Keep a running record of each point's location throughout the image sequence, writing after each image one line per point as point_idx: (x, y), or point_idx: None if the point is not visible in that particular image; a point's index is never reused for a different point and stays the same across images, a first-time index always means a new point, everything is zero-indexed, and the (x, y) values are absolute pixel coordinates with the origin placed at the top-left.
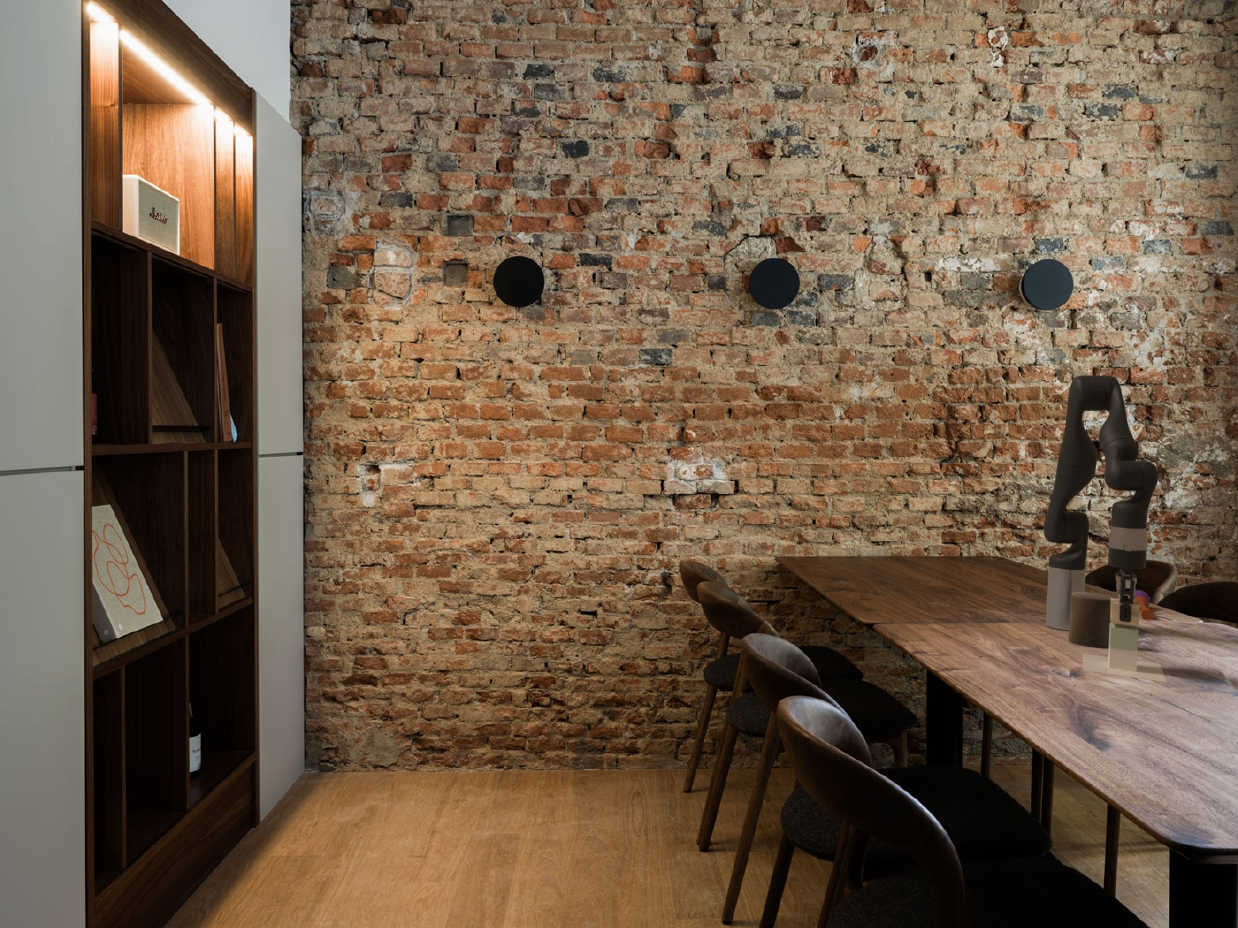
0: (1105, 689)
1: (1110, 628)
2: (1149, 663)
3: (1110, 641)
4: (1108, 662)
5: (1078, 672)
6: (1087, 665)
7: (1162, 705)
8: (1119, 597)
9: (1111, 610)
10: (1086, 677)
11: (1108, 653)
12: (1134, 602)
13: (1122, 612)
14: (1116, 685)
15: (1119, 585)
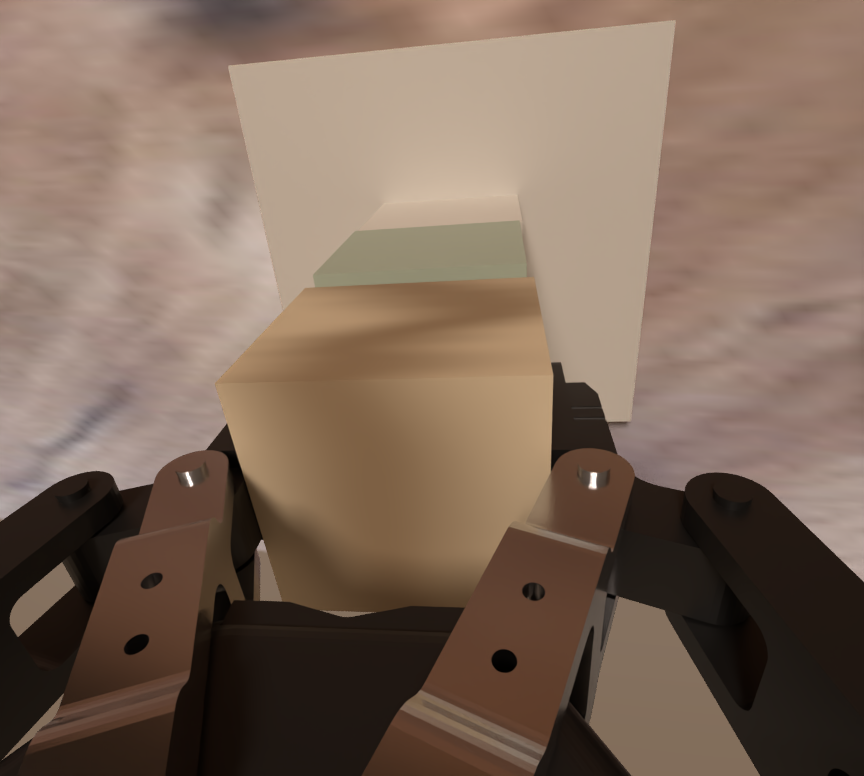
0: (78, 191)
1: (374, 264)
2: (612, 382)
3: (344, 243)
4: (470, 199)
5: (290, 35)
6: (363, 82)
7: (54, 385)
8: (549, 481)
9: (309, 331)
10: (217, 89)
11: (518, 205)
12: (417, 584)
13: (227, 427)
14: (186, 236)
15: (96, 666)
